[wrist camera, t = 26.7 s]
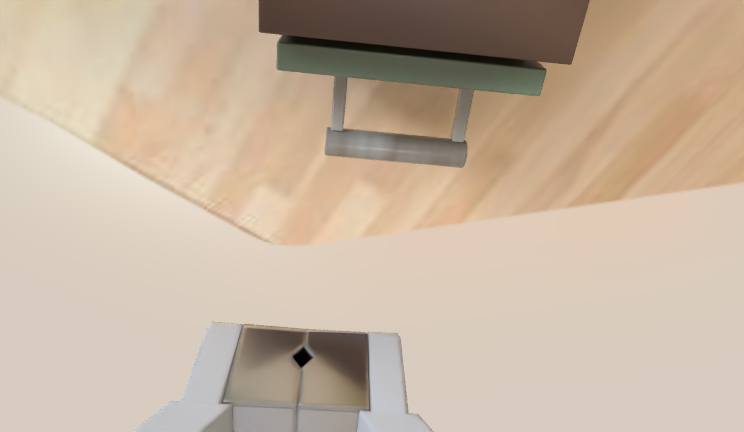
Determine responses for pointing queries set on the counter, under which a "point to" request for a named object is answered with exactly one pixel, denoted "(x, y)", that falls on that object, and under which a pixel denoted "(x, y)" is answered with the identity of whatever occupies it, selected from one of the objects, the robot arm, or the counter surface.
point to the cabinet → (437, 25)
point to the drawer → (405, 68)
